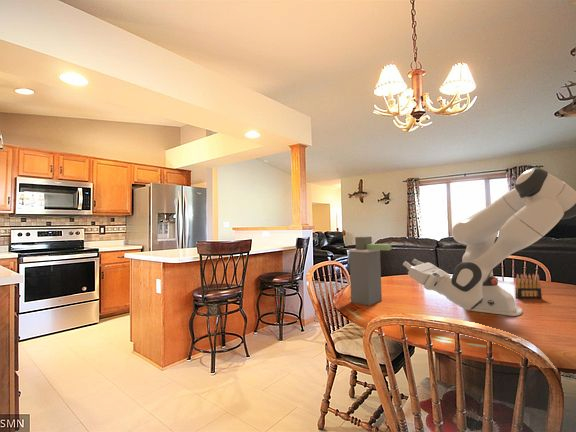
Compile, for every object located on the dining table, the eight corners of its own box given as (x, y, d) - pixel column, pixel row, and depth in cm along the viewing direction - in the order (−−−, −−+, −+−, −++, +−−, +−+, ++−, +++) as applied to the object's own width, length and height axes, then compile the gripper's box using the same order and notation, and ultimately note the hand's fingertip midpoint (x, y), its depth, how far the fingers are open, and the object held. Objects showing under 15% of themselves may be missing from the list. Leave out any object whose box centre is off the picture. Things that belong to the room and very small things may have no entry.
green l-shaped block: (392, 249, 140) (392, 236, 140) (385, 250, 135) (385, 237, 135) (363, 248, 152) (362, 236, 152) (355, 249, 147) (355, 237, 147)
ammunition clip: (539, 298, 144) (538, 273, 144) (542, 299, 142) (540, 274, 143) (515, 297, 146) (514, 273, 146) (517, 298, 144) (516, 274, 144)
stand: (381, 300, 147) (379, 248, 148) (369, 305, 138) (367, 250, 139) (364, 297, 154) (362, 247, 155) (351, 302, 146) (349, 249, 146)
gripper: (449, 270, 128) (421, 253, 137) (433, 277, 114) (401, 257, 123) (442, 282, 130) (414, 264, 139) (425, 290, 116) (395, 270, 125)
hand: (408, 261), depth 131 cm, fingers open, 8 cm apart
